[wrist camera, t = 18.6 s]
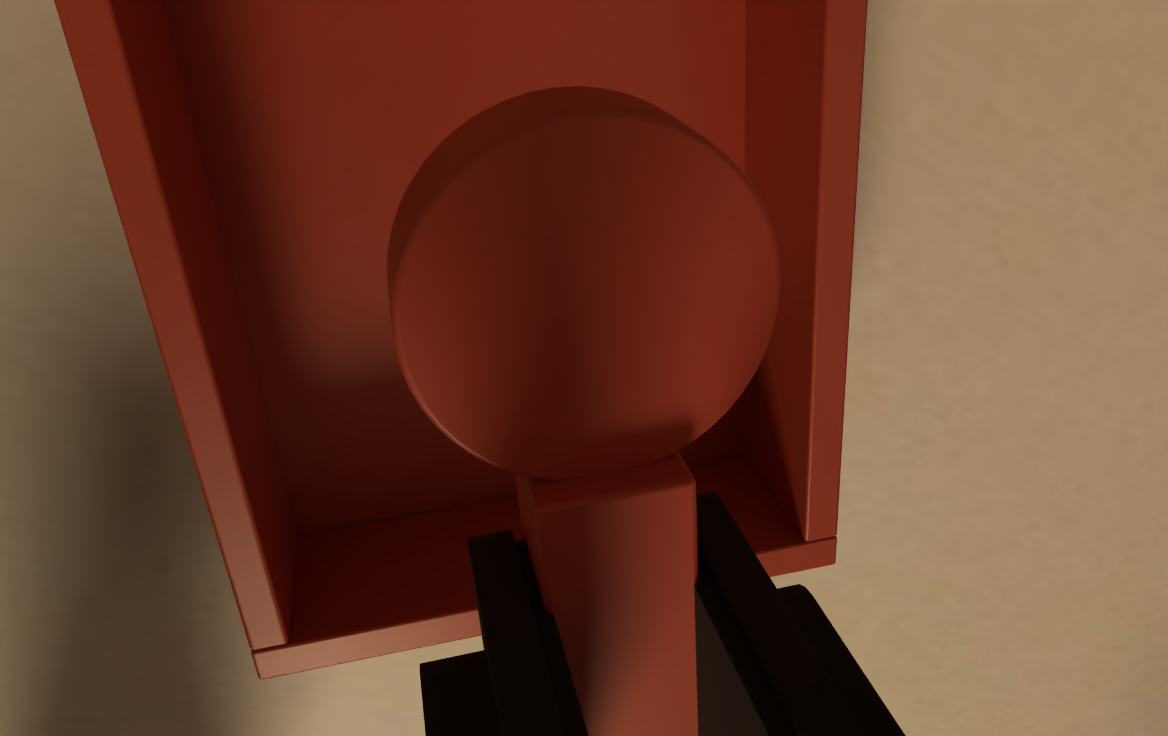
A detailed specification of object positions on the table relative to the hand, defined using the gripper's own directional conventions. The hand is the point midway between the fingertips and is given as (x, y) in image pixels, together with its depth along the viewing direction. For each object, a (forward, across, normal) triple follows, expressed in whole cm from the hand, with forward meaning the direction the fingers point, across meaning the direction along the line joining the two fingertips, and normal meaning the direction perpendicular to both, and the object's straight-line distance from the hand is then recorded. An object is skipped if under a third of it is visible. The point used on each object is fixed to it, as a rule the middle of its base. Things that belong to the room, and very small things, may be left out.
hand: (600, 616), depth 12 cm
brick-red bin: (+10, 0, -2) cm, 10 cm away
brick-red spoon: (0, 0, -2) cm, 2 cm away
